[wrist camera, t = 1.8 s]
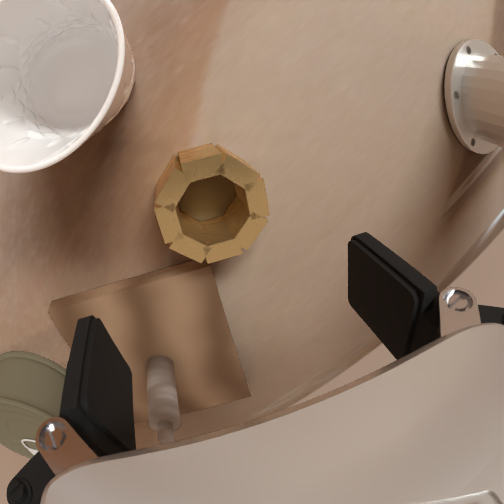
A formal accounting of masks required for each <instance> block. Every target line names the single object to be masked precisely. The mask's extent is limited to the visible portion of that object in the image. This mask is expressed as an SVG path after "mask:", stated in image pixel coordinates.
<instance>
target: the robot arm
mask: <svg viewBox="0 0 504 504" xmlns="http://www.w3.org/2000/svg"><path fill="white" fill-rule="evenodd" d="M444 91H445V103H446V110H447V113H448V117H449V121H450V124H451V126H452V129H453V131H454V133H455V135H456V137H457V139H458V140H459V141H460V142H461V144H462V145H463V146H464V147H466V148H467V149H468V150H470V151H473V152H475V153H478V154H488V153H490V152H492V151H494V150H495V149H496V148H497V147H498V146H501V147H503V148H504V56H500V55H499V54H498V53H497V52H496V51H495V50H494V48H493V47H492V46H490V45H489V44H488V43H486V42H484V41H482V40H477V39H466V40H464V41H462V42H460V43H459V44H458V45H457V46H456V47H455V48H454V49H453V51H452V53H451V55H450V57H449V60H448V63H447V67H446V72H445V83H444ZM348 300H349V303H350V305H351V307H352V308H353V309H354V310H355V311H356V312H357V313H358V315H359V316H360V317H361V318H362V319H363V320H364V322H365V323H366V324H367V325H368V326H369V327H370V329H371V330H372V331H373V332H374V333H375V334H376V336H377V337H378V338H379V339H380V340H381V342H382V343H383V344H384V345H385V346H386V347H387V349H388V350H389V351H390V352H391V353H392V354H393V356H394V357H395V358H396V359H397V360H396V361H394V362H393V363H390V364H389V365H387V366H385V367H383V368H381V369H379V370H376V371H375V372H372V373H370V374H368V375H366V376H364V377H362V378H360V379H357V380H355V381H354V382H351V383H349V384H346V385H344V386H342V387H340V388H337V389H335V390H333V391H330V392H328V393H325V394H323V395H321V396H318V397H316V398H313V399H311V400H308V401H306V402H303V403H301V404H298V405H295V406H292V407H290V408H287V409H284V410H282V411H279V412H276V413H273V414H270V415H267V416H264V417H261V418H258V419H255V420H252V421H249V422H246V423H242V424H239V425H236V426H233V427H229V428H226V429H222V430H219V431H215V432H212V433H208V434H204V435H200V436H196V437H192V438H188V439H184V440H180V441H175V442H171V443H166V444H162V445H157V446H153V447H148V448H143V449H138V450H136V443H135V430H134V412H133V385H132V372H131V369H130V367H129V365H128V364H127V362H126V361H125V359H124V358H123V356H122V354H121V353H120V351H119V350H118V348H117V346H116V345H115V343H114V341H113V340H112V338H111V336H110V335H109V333H108V331H107V330H106V328H105V326H104V324H103V323H102V321H101V319H100V318H95V317H94V316H93V315H91V316H87V317H84V318H80V319H78V321H77V325H76V329H75V334H74V338H73V343H72V347H71V352H70V357H69V361H68V364H67V369H66V374H65V380H64V386H63V392H62V399H61V406H60V414H59V417H53V418H50V419H48V420H46V421H45V422H43V423H42V425H41V426H40V427H39V429H38V431H37V433H36V437H35V442H36V446H37V449H38V450H39V451H38V452H37V453H36V454H35V455H34V456H33V457H32V458H31V459H30V461H29V462H28V463H27V464H26V465H25V466H24V467H23V468H22V469H21V470H20V471H19V472H18V474H17V475H16V476H15V477H14V478H13V479H12V480H11V482H10V483H9V485H8V488H7V500H8V503H9V504H504V308H500V307H492V306H484V305H478V304H477V300H476V298H475V296H474V295H473V294H472V293H471V292H470V291H468V290H466V289H464V288H460V287H449V288H446V289H444V290H443V291H442V292H441V293H439V292H438V291H437V286H436V285H434V284H433V283H432V282H431V281H430V280H428V279H427V278H426V277H425V276H423V275H422V274H421V273H420V272H418V271H417V270H416V269H415V268H413V267H412V266H411V265H409V264H408V263H407V262H406V261H404V260H403V259H402V258H401V257H399V256H398V255H397V254H395V253H394V252H393V251H391V250H390V249H389V248H387V247H386V246H385V245H383V244H382V243H381V242H379V241H378V240H377V239H375V238H374V237H373V236H371V235H370V234H369V233H367V232H364V233H361V234H358V235H355V236H353V237H352V238H351V241H349V242H348Z"/></svg>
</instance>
